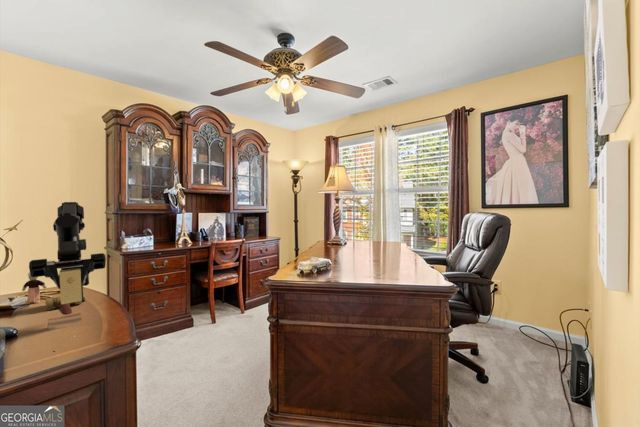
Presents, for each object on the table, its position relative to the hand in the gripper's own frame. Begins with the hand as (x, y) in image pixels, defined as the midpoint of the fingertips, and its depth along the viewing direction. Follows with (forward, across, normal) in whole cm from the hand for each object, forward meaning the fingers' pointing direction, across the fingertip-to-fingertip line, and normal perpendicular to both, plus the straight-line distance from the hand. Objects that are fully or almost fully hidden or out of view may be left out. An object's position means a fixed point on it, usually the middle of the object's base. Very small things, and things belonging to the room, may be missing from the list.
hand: (70, 286), depth 92 cm
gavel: (-5, -2, +24) cm, 25 cm away
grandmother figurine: (-21, -11, +41) cm, 47 cm away
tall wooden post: (+3, 0, +5) cm, 5 cm away
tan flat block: (+7, -2, +12) cm, 14 cm away
